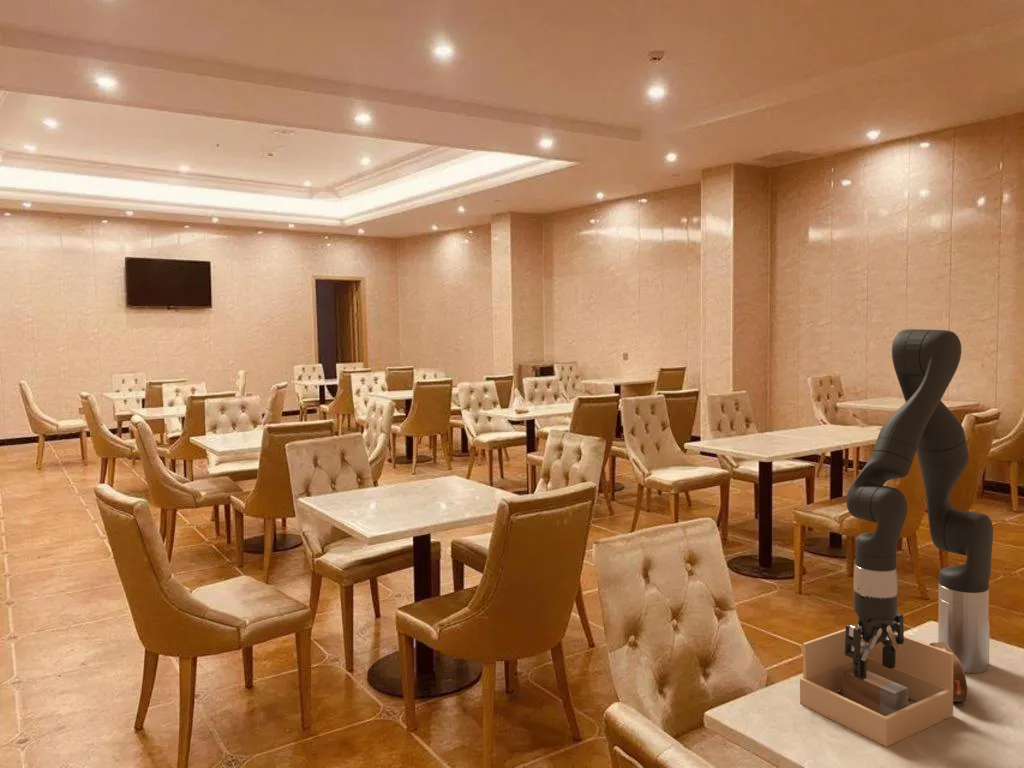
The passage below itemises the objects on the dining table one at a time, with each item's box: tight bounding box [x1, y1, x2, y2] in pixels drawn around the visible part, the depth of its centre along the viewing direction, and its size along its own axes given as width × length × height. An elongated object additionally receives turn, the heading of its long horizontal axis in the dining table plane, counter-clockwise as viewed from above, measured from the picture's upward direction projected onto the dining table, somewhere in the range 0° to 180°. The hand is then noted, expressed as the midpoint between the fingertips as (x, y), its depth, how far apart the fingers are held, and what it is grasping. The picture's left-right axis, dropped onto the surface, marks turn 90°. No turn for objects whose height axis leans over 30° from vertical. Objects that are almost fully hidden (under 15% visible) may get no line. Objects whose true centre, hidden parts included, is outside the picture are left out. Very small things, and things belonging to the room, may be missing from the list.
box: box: [842, 668, 909, 716], centre depth 149 cm, size 4×11×6 cm, turn 30°
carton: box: [799, 628, 954, 748], centre depth 149 cm, size 20×19×12 cm
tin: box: [928, 642, 968, 703], centre depth 155 cm, size 15×3×8 cm, turn 168°
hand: (874, 672), depth 149 cm, fingers open, 8 cm apart
